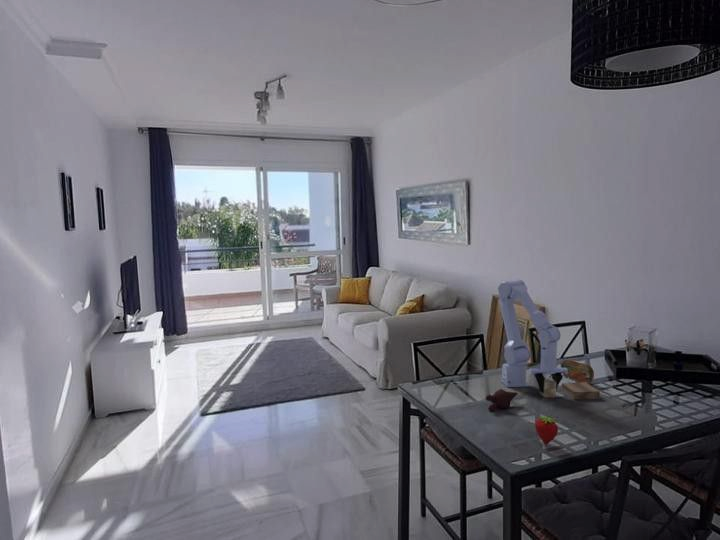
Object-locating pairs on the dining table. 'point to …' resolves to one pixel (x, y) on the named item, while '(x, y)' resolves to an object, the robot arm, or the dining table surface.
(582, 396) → the plinth
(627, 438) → the dining table surface
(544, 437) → the strawberry
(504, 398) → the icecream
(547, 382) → the birch block
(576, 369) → the tin
